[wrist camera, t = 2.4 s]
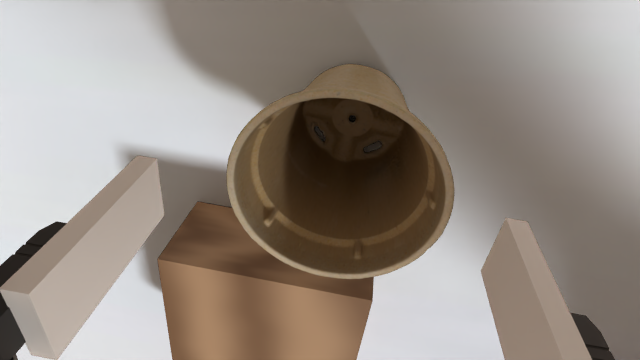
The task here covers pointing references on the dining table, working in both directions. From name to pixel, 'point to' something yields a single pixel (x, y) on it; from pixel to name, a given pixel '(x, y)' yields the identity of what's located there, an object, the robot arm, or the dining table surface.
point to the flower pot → (341, 178)
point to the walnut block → (253, 298)
